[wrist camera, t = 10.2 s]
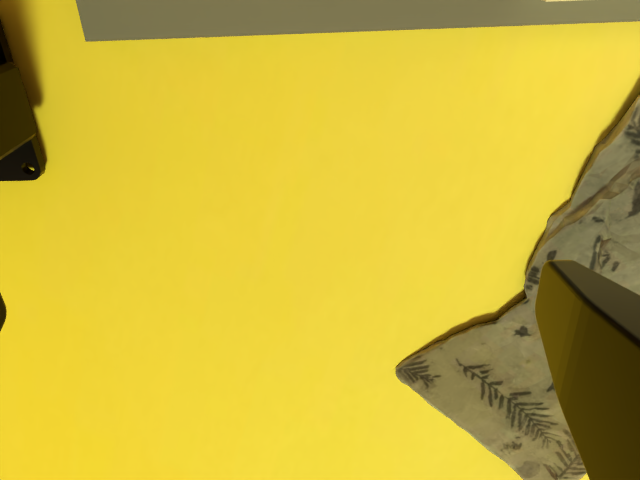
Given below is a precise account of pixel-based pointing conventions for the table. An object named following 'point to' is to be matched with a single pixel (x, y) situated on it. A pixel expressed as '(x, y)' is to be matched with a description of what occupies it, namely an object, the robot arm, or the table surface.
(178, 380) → the table surface
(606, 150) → the fossil rock
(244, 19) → the building board
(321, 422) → the table surface
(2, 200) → the table surface
